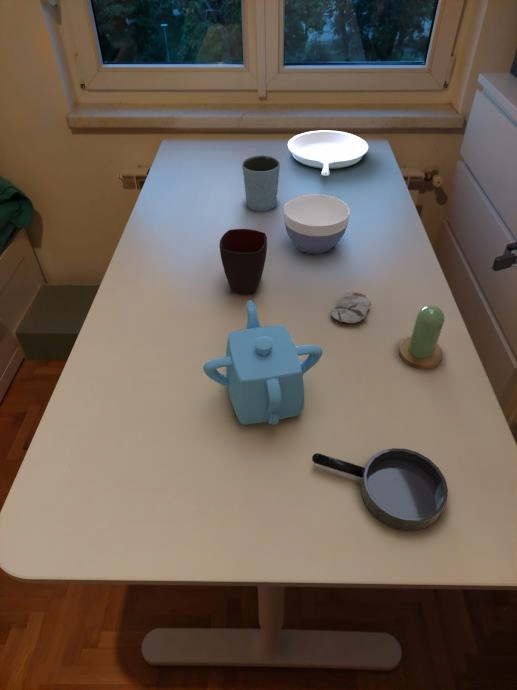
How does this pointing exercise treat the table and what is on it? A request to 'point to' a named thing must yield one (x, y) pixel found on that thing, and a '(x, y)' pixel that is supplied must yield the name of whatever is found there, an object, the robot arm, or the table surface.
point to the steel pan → (404, 489)
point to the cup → (243, 258)
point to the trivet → (418, 362)
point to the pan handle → (338, 465)
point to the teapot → (263, 371)
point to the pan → (327, 149)
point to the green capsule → (426, 332)
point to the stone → (351, 308)
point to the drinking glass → (261, 182)
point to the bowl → (316, 221)
